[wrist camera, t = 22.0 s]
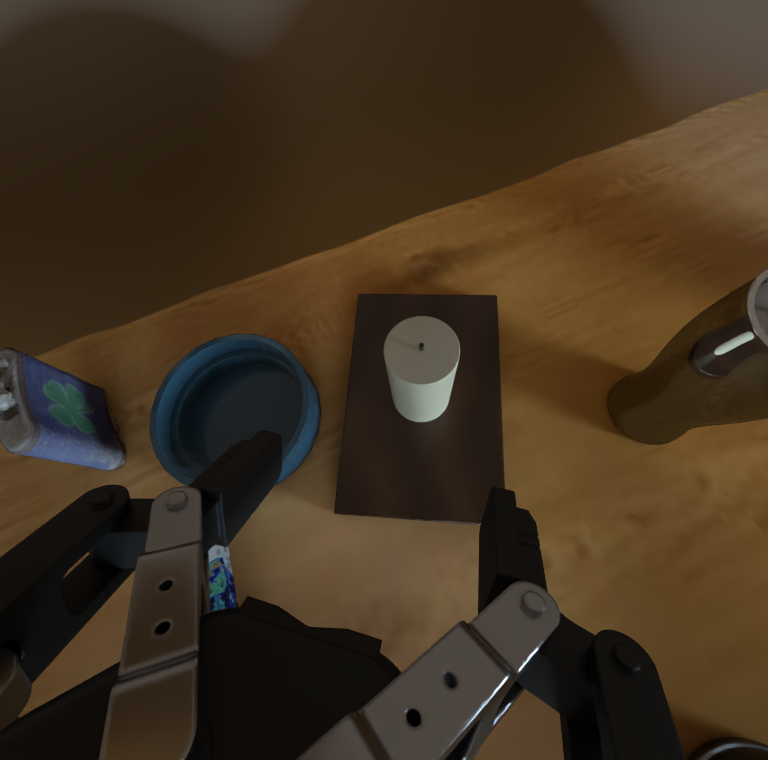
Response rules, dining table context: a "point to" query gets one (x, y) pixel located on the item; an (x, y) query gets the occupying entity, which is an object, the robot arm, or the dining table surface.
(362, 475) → the cutting board
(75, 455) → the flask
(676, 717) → the dining table surface
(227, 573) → the knife
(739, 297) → the beer glass
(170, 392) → the bowl
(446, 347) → the candle
